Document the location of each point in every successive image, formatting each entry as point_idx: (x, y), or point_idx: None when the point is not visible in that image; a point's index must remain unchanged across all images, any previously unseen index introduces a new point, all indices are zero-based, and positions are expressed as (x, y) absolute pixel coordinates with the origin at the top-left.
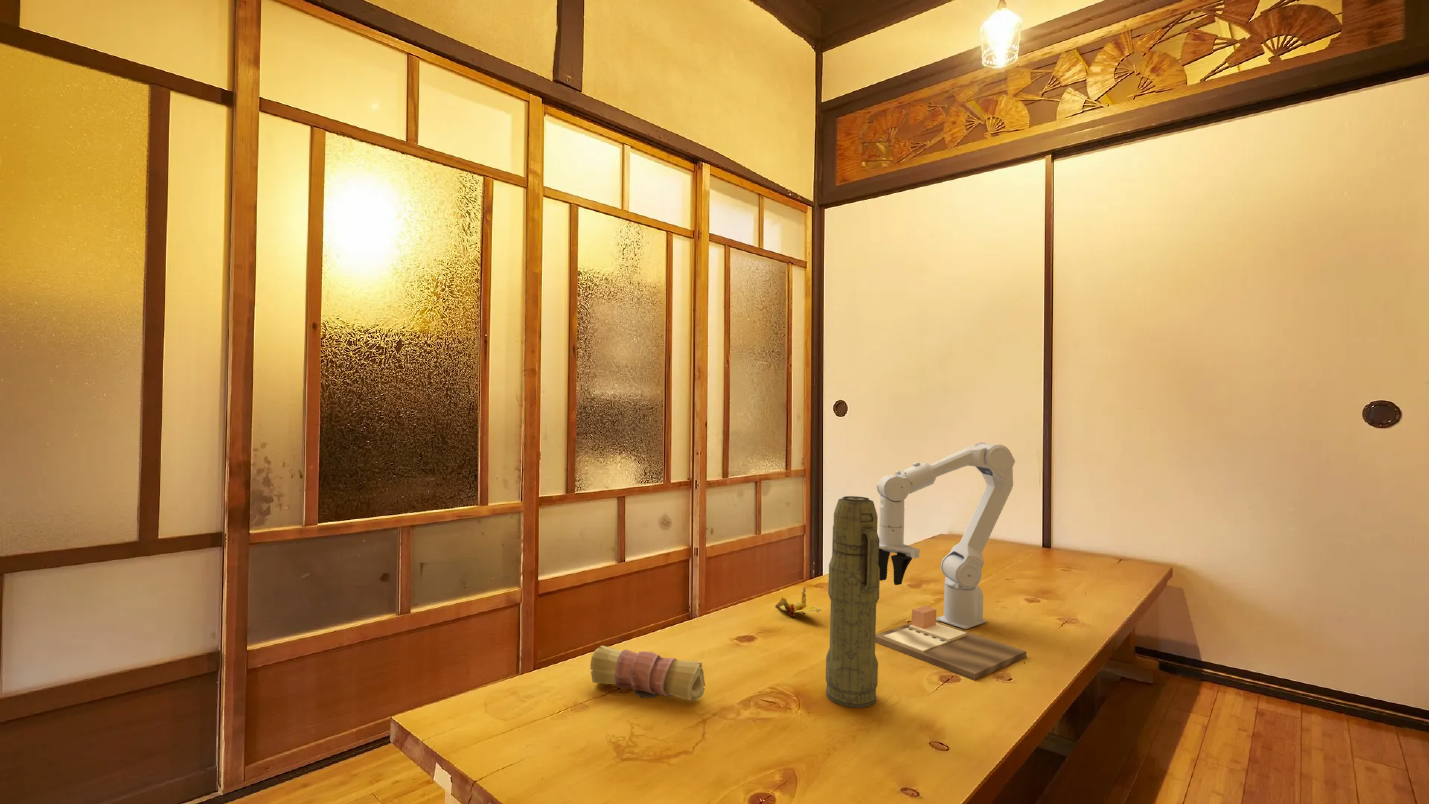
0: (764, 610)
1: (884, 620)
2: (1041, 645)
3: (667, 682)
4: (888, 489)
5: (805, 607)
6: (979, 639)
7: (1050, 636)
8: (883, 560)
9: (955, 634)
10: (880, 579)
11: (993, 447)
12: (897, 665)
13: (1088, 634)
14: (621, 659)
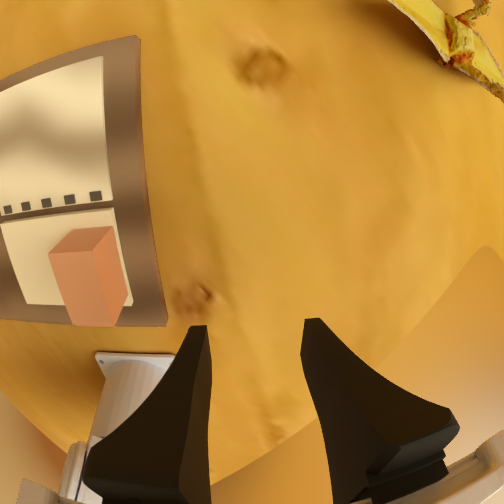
0: (494, 33)
1: (257, 236)
2: (15, 371)
3: None
4: None
5: (445, 43)
6: (12, 302)
7: (49, 409)
8: (338, 433)
9: (21, 271)
10: (310, 322)
11: None
12: (12, 10)
13: (54, 435)
14: None
